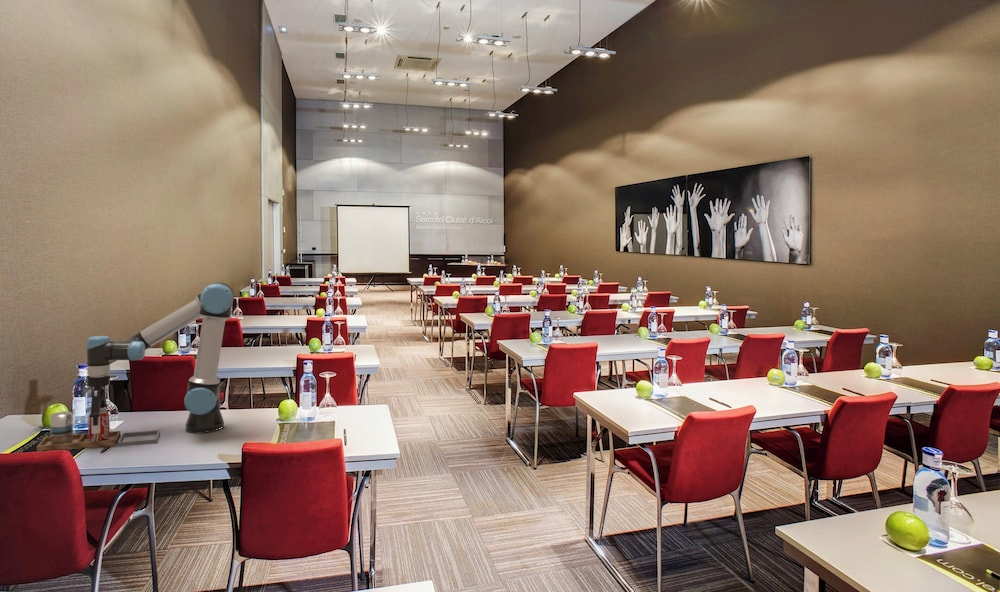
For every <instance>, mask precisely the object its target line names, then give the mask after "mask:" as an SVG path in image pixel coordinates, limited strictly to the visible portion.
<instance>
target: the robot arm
mask: <svg viewBox="0 0 1000 592" xmlns="http://www.w3.org/2000/svg"><path fill="white" fill-rule="evenodd" d="M234 299H235V292H234V290H233V288H232V287H231V285H229V284H227V283H225V282H221V281H220V282H214V283H212V284H209V285H207V286H206V287H205V288H203V290H202V292H201V293H199V294H198V295H196V297H195V299H193V300H192V301H191V302H188V303H187V304H186V305H183V306H181V307H179V308H178V309H177V310H175V311H173V312H172V313H170V314H168V315H166V316H165V317H163V318H161V319H160V320H158V321H156V322H155V323H153V324H151V325H149V326H148V327H145V328H144V329H143V330H141V331H139V332H137V333H136V334H133V335H132V336H129V338H127V339H125V340H124V341H123V340H122V341H119V340H118V341H111V337H109V336H107V335H95V336H90V337H88V338H87V340H86V341H87V342H86V344H87V345H86V361H87V363H86V364H87V366H86V367H85V371H87V372H86V375H87V378H86V380H87V381H86V385H87V387H89V388H93V389H92V391H91V408H90V412H91V415H90V414H88V415H89V416H88V418H89V417H92V434H95V433H100V415H99V414H100V410H106V411H107V409H106V408H108V406H109V404H107V403H108V402H107V397H106V396H107V395H106V394H107V393H106V386H109V385H110V384H111V379H110V378H111V376H110V374H111V363H110V362H111V361H138V360H139V361H140V360H143V359H144V357H145V354H146V350H149V349H150V348H151V347H153V346H155V345H156V344H158V343H159V342H161V341H163V340H165V339H166V338H168V337H170V336H171V335H173V334H175V333H177V332H178V331H180V330H181V329H183V328H185V327H187V326H188V325H190V324H192V323H193V322H196V320H199V319H200V318H202V320H201V321H202V323H201V328H200V334H199V340H198V345H197V353H196V359H195V366H194V372H193V375H192V376H191V377H190V378H189V379H188V384H187V389H186V394H185V396H184V399H183V403H184V407H185V408H186V410H187V411H188V412H189V414H188V417H187V420H186V423H185V431H186V432H188V431H189V433H194V432H205V433H207V432H206V431H212V432H214V431H213V430H216V429H219V428H221V427H223V426H224V427H225V420H224V418H223V415H222V412H221V409H220V408H221V407H220V406H221V385H220V384H221V378H220V376H219V375H218V369H219V361H220V356H221V351H222V349H221V348H222V345H223V338H224V337H223V336H224V330H225V326H226V325H225V324H226V321H228V320H229V319H230V318H231V313H232V307H233V302H234ZM224 427H223V428H224Z"/></svg>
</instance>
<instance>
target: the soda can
mask: <svg viewBox="0 0 1000 592" xmlns="http://www.w3.org/2000/svg"><path fill="white" fill-rule="evenodd" d="M108 412H109V411H108V410H107V409H106V410H100V414H99V415H100V433H95V434H92V417H89V416H88V417H87V418H88V421H87V422H88V423H87V424H88V425H87V428H88V429H87V430H88V432H87V433H88V438H89V442H91V441H104V440H108V439H109V434H110V432H111V430H110V427H111V426H110V424H111V423H110V422H111V421H110V414H109V413H108ZM89 413H90V414H89V415H91V411H90V412H89Z"/></svg>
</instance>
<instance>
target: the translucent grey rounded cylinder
mask: <svg viewBox="0 0 1000 592" xmlns="http://www.w3.org/2000/svg"><path fill="white" fill-rule="evenodd" d="M49 415H50V417H49V419H50V422H49V423H50V425H49V427H50V428H49V431H50V432H49V433H50V436H51V445H53V444H66V443H73V434H74V433H73V432H74V424H73V421H74V419H73V412H71V411H59V412H58V411H57V412H54V413H51V414H49Z"/></svg>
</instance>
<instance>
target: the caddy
mask: <svg viewBox="0 0 1000 592" xmlns="http://www.w3.org/2000/svg"><path fill="white" fill-rule="evenodd" d="M121 434H122V432H121V430H117V431H116V430H114V431H110V434H109V439H108V440H104V441H91V442H89V438H88V432H87V433H73V443H66V444H53V445H51V435H49V436H45V437H43V439H42V440H41V441H40V442H39V443H38V444H37V445H36V452H37V451H43V450H52V449H68V450H67V451H73V450H72V449H78V450H82V449H81V448H90V449H99V448H101V449H102V448H113V447H117V443H118V440H119V438H120V436H121ZM70 449H71V450H70Z"/></svg>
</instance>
